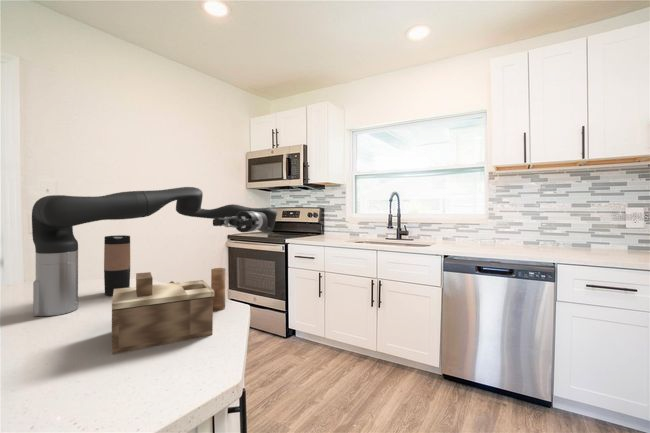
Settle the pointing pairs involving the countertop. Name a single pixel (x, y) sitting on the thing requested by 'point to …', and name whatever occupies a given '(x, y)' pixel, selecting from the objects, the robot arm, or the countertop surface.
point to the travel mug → (116, 263)
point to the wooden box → (161, 323)
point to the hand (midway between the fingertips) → (225, 222)
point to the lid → (158, 292)
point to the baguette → (218, 288)
